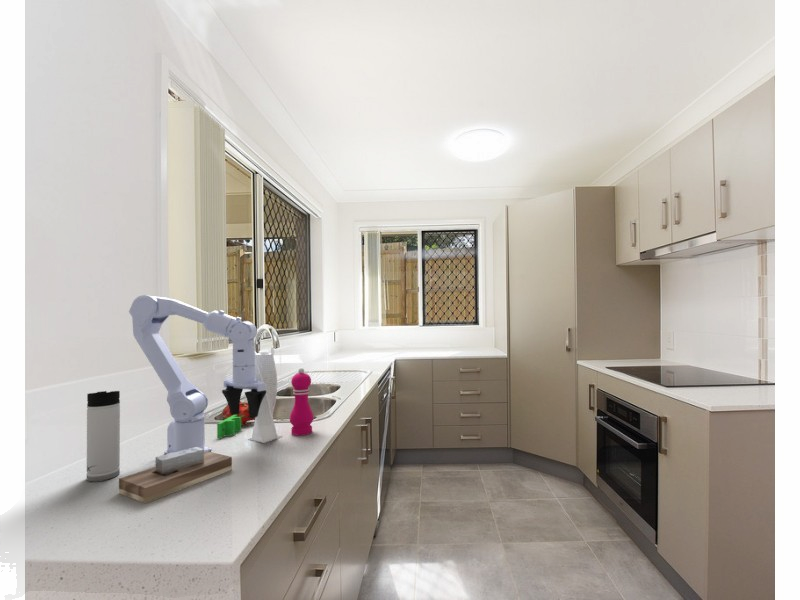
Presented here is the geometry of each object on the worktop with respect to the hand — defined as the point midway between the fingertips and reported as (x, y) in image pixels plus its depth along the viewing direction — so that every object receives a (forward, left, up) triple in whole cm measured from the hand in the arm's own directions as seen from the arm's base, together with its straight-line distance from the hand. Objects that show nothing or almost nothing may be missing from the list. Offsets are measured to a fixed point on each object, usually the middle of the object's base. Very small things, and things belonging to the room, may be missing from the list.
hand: (244, 415), depth 114 cm
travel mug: (-14, -28, -10) cm, 33 cm away
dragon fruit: (-24, +18, -10) cm, 32 cm away
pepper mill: (+2, +20, -10) cm, 22 cm away
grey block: (+4, -21, -8) cm, 23 cm away
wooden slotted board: (+4, -21, -9) cm, 23 cm away
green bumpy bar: (-18, +10, -10) cm, 23 cm away
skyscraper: (-3, +10, -10) cm, 14 cm away
